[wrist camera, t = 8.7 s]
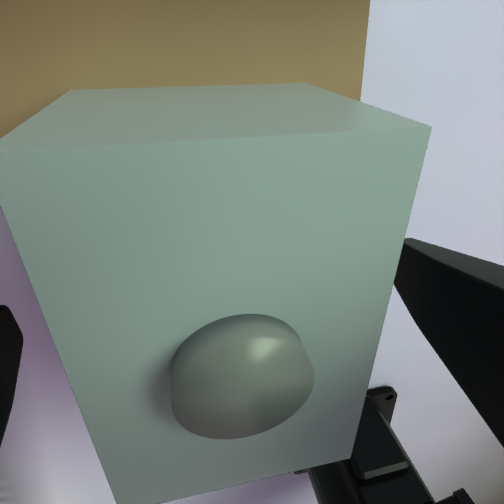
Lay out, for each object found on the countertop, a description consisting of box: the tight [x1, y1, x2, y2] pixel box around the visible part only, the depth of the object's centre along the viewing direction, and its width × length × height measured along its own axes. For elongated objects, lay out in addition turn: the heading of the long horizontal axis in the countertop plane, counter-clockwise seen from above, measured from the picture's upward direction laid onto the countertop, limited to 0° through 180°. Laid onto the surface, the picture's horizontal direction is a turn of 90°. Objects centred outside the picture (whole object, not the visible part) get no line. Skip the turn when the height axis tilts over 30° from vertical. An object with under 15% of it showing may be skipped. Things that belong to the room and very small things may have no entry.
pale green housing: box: [0, 83, 432, 504], centre depth 8 cm, size 6×8×6 cm
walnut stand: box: [0, 0, 370, 139], centre depth 12 cm, size 12×9×3 cm
